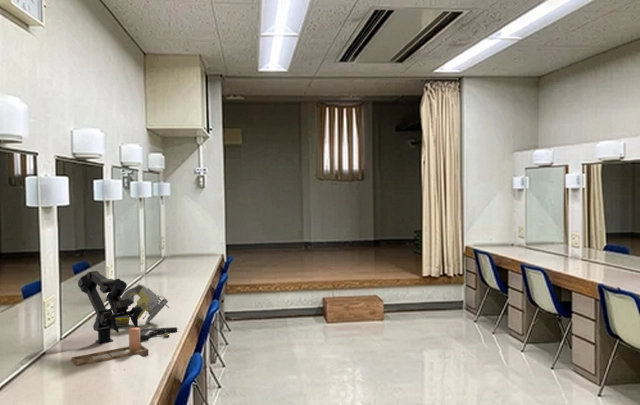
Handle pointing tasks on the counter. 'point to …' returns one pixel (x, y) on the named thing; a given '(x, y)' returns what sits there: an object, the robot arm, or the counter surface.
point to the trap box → (88, 358)
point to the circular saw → (143, 303)
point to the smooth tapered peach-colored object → (134, 339)
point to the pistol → (155, 332)
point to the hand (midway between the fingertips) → (127, 329)
